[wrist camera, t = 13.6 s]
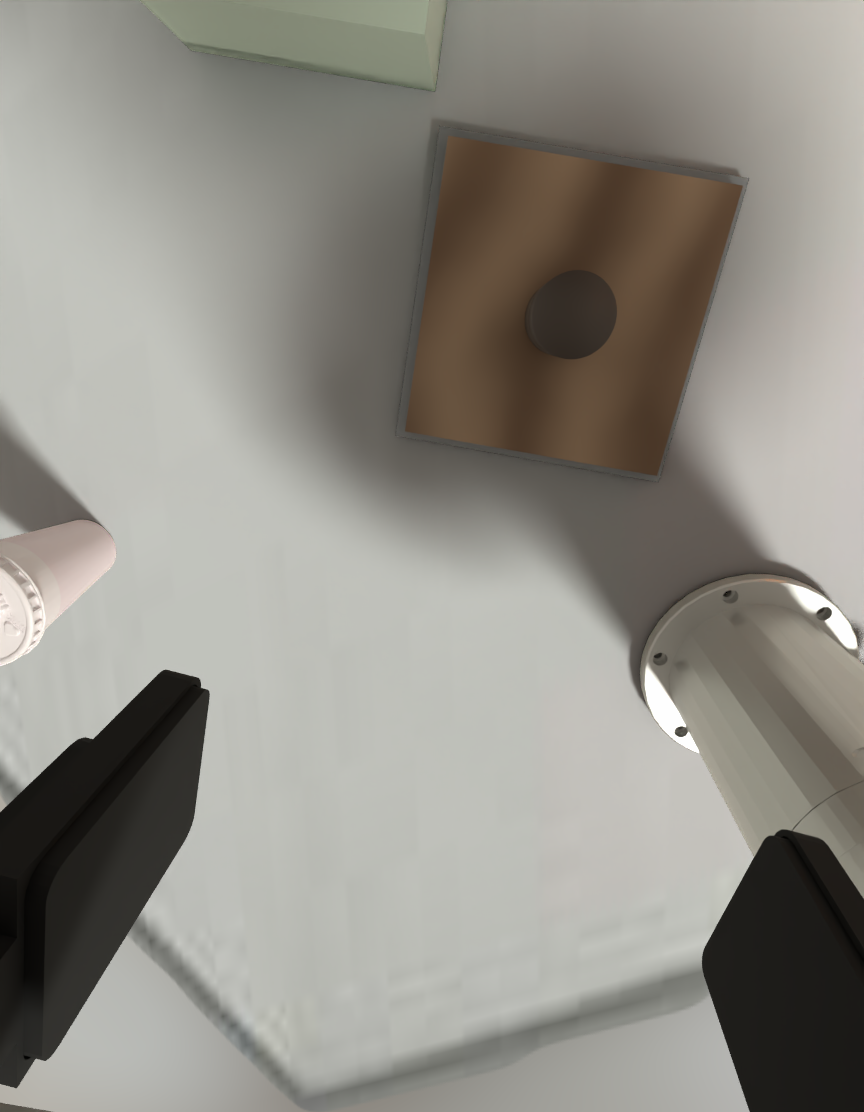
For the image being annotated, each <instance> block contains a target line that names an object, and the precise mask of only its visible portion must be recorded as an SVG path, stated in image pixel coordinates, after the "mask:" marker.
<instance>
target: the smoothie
mask: <svg viewBox="0 0 864 1112" xmlns="http://www.w3.org/2000/svg"><path fill="white" fill-rule="evenodd" d="M115 559H116V546H115V543H114V541H113V539H112V537H111V535H110V534H109V533H108V532H107V531H106V530H105V529H104V528H103V527H102V526H100V525H99V524H97V523H95V522H93V521H89V520H75V521H71V522H67V523H63V524H59V525H56V526H52V527H48V528H44V529H40V530H36V531H32V532H28V533H24V534H21V535H17V536H13V537H9V538H5V539H1V540H0V666H2V665H5V664H8V663H11V662H13V661H15V660H16V659H18V658H19V657H20V656H22V655H25V654H27V653H29V652H30V651H31V650H32V649H33V648H34V647H35V646H36V645H37V644H38V643H39V641H40V639H41V637H42V636H43V634H44V631H45V629H46V628H47V627H48V626H49V625H51V623H52V622H53V621H54V620H55V619H57V618H58V617H59V616H60V615H61V614H62V613H63V612H64V611H65V610H66V609H67V608H68V607H69V606H70V605H71V604H73V603H74V602H75V601H76V600H77V599H78V598H79V597H80V596H81V595H82V594H83V593H84V592H85V591H86V590H87V589H89V588H90V587H91V586H92V585H93V584H94V583H95V582H96V581H97V580H98V579H99V578H100V577H101V576H102V575H103V574H105V573H106V572H107V571H108V570H109V569H110V568H111V567H112V565H113V564H114V562H115Z"/></svg>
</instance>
